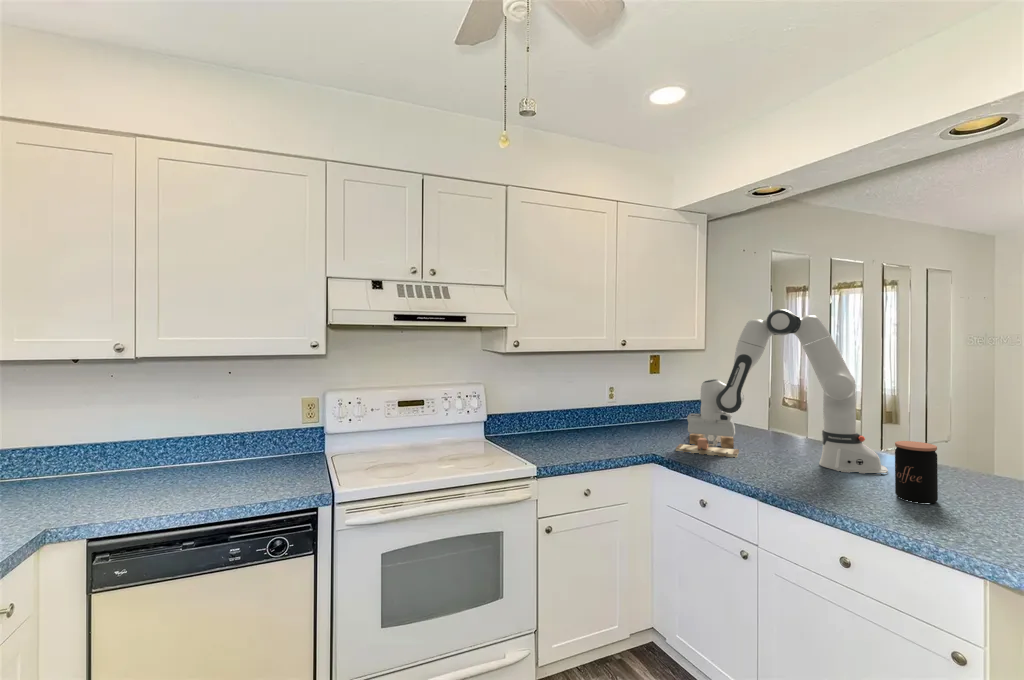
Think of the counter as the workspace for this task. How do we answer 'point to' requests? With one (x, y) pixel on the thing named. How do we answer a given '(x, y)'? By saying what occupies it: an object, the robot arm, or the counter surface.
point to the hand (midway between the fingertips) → (711, 444)
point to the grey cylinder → (712, 439)
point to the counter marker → (702, 443)
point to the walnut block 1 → (695, 438)
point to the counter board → (708, 450)
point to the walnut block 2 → (727, 442)
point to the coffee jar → (916, 471)
